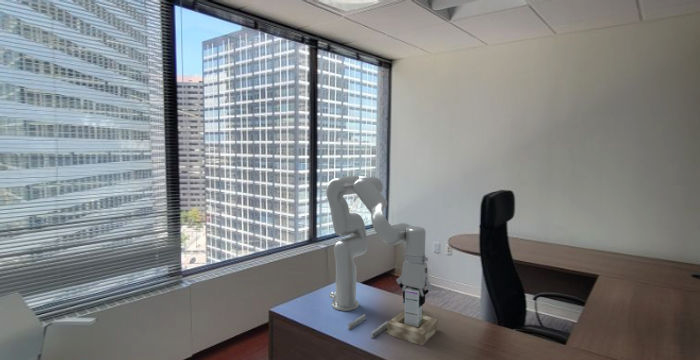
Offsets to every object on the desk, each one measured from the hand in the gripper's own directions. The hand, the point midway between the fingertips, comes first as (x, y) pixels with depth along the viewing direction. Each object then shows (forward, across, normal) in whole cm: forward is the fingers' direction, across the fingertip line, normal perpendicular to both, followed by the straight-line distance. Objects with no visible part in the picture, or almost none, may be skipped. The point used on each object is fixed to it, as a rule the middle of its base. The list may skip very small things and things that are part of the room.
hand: (413, 302), depth 149 cm
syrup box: (+9, 0, 0) cm, 9 cm away
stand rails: (+12, +16, +8) cm, 22 cm away
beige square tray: (+12, 0, 0) cm, 12 cm away
